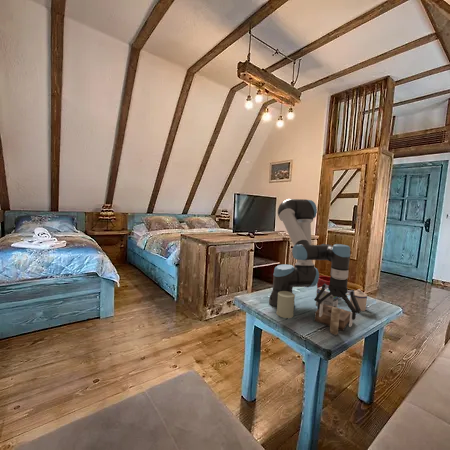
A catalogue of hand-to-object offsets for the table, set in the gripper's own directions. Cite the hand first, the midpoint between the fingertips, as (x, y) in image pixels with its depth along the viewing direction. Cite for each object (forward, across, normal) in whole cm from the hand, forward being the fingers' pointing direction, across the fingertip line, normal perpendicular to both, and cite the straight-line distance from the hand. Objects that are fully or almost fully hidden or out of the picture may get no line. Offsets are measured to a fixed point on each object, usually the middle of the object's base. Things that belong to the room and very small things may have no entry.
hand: (335, 320), depth 117 cm
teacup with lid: (+6, +1, +40) cm, 41 cm away
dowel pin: (+6, 0, 0) cm, 6 cm away
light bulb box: (+6, -12, +28) cm, 31 cm away
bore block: (+6, -4, +12) cm, 14 cm away
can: (+6, -26, +1) cm, 27 cm away
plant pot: (+6, -18, +47) cm, 51 cm away
